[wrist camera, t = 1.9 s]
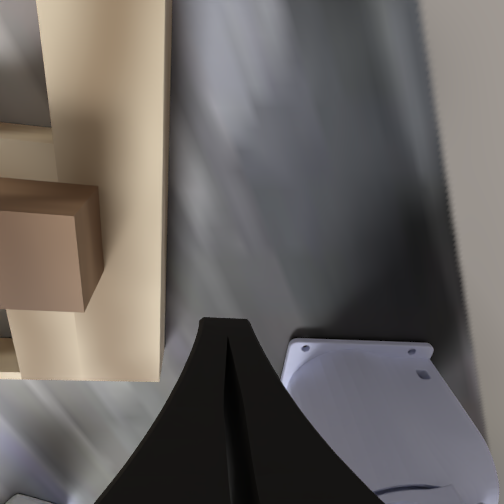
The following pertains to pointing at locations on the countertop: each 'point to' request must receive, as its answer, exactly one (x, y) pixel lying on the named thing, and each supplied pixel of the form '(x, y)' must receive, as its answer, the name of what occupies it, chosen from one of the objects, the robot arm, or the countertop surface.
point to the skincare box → (25, 500)
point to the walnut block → (49, 245)
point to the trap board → (101, 186)
